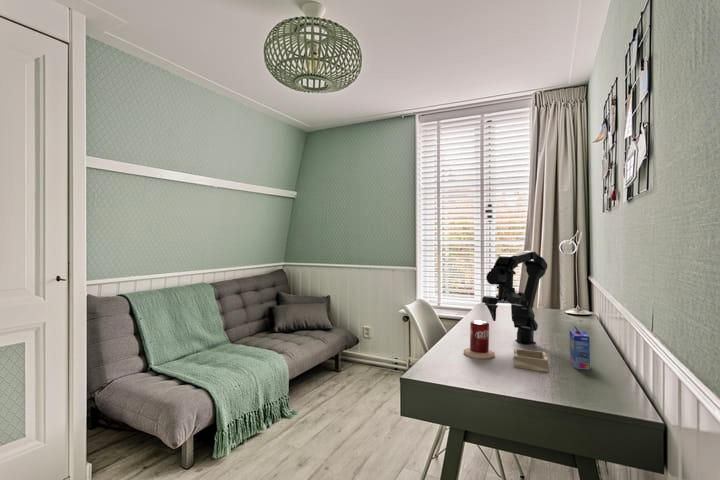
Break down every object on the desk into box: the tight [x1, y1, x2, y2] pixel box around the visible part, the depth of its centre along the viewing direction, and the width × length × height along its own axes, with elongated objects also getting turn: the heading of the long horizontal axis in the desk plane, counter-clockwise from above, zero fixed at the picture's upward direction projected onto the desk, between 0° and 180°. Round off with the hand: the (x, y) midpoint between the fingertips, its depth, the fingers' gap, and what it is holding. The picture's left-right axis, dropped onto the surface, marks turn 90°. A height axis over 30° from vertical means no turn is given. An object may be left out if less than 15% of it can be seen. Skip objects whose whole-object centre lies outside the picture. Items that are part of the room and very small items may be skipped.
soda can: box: [469, 320, 490, 354], centre depth 157 cm, size 7×7×12 cm
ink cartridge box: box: [569, 325, 591, 371], centre depth 145 cm, size 10×6×14 cm, turn 161°
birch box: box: [513, 348, 549, 372], centre depth 144 cm, size 11×11×4 cm
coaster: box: [463, 347, 496, 360], centre depth 157 cm, size 12×12×1 cm
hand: (503, 321), depth 166 cm, fingers open, 9 cm apart
